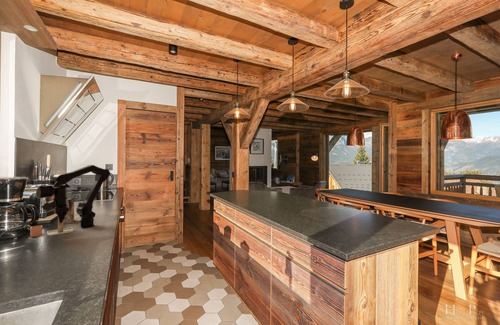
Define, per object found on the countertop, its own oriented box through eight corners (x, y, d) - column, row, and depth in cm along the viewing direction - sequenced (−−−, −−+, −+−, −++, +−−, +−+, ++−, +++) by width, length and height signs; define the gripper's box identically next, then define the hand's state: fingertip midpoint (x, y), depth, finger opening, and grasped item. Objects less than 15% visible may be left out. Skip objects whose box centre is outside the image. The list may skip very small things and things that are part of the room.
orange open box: (42, 233, 138) (41, 225, 138) (42, 235, 135) (42, 227, 135) (30, 235, 135) (30, 226, 135) (30, 237, 131) (30, 228, 131)
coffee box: (71, 223, 160) (70, 199, 160) (59, 224, 158) (58, 200, 157) (74, 220, 169) (74, 197, 168) (63, 221, 166) (63, 198, 166)
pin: (62, 231, 142) (63, 216, 142) (63, 231, 140) (63, 216, 140) (57, 231, 140) (57, 216, 140) (58, 232, 138) (58, 217, 138)
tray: (72, 229, 147) (72, 227, 147) (74, 232, 141) (74, 230, 141) (46, 233, 139) (46, 231, 139) (47, 237, 133) (47, 234, 133)
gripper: (40, 195, 141) (41, 221, 141) (43, 199, 127) (43, 228, 128) (64, 193, 148) (65, 218, 149) (68, 197, 135) (69, 224, 135)
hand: (60, 222), depth 140 cm, fingers open, 3 cm apart
